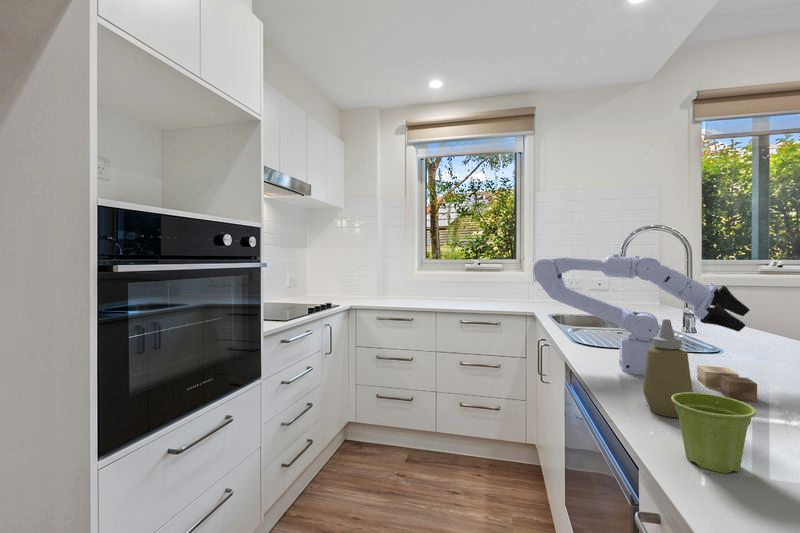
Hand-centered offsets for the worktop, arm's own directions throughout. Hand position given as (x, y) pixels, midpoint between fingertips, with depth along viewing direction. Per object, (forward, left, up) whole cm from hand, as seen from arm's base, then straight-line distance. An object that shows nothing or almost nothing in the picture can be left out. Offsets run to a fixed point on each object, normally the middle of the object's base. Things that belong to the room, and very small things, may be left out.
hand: (744, 320), depth 90 cm
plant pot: (-19, -47, -15) cm, 53 cm away
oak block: (-7, -5, -15) cm, 17 cm away
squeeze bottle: (-21, -27, -15) cm, 37 cm away
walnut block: (-6, -14, -15) cm, 21 cm away
